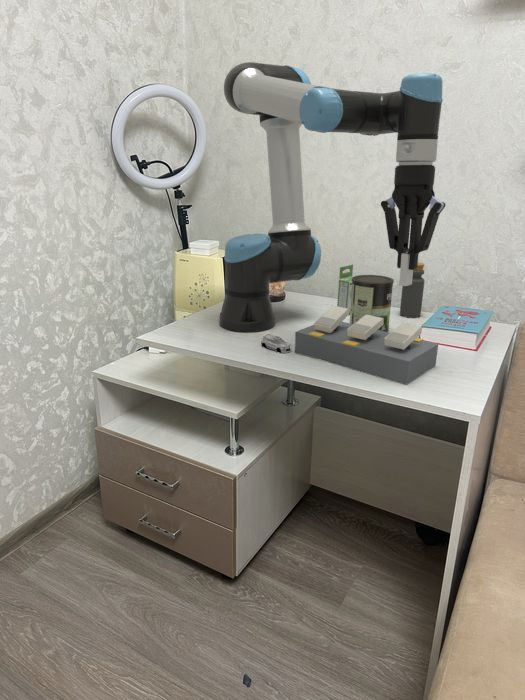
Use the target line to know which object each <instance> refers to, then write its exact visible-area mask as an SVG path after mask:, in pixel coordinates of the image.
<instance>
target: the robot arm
mask: <svg viewBox="0 0 525 700" xmlns="http://www.w3.org/2000/svg"><path fill="white" fill-rule="evenodd" d="M400 83H401V84H400V86H399V90H396V91H391V92H369V91H359V90H348V89H339V88H332V87H326V86H321V85H315V84H312V83H311V79H310V77H309V76H308V74H307V73H306V72H305V71H304V70H303V69H301V68H298V67H294V66H292V65H291V66H290V65H279V64H270V63H261V62H252V61H249V62H247V61H246V62H243V63H240V64H237V65H235V66H234V67H232V68H231V70H229V72H228V73H227V74H226V76H225V79H224V83H223V93H224V98H225V100H226V102H227V103H228V105H229V106H230V107H231V108H232V109H233V110H235V111H237V112H238V113H242V114H246V115H254V116H258V117H259V125H260V127H261V128H262V129H263V130H264V131H265V132H266V134H265V135H266V145H267V146H266V147H267V159H268V175H269V189H270V190H269V191H270V204H271V214H272V217H271V218H272V226H271V227H270V229H269V230H268V231H267V234H266V233H247V234H242V235H238V236H234V237H232V238H230V239H229V240H228V241H226V243H225V246H224V247H225V248H224V257H223V259H224V260H223V261H224V277H225V278H224V280H225V281H224V283H225V286H224V287H225V290H224V291H225V295H224V299H223V303H222V307H221V312H220V313H219V316H218V317H219V319H218V321H219V326H220V327H221V328H223V329H225V330H229V331H234V332H241V333H242V332H243V333H246V332H247V333H249V332H250V333H251V332H252V333H253V332H255V333H256V332H260V331H261V332H262V331H266V330H270V329H272V328H273V327H275V325H276V314H275V312H274V309H273V304H272V301H271V297H270V284H274V283H282V282H288V281H289V282H290V281H301V280H303V279H308V278H311V277H312V276H313V275H314V274H316V271H317V270H318V268H319V266H320V263H321V259H322V248H321V245H320V243H319V240H318V239H317V238H316V236H313V235H312V231H311V227H310V226H309V225H307V224H306V223H305V221H306V220H305V205H304V191H303V190H304V189H303V188H304V187H303V173H302V172H303V171H302V153H301V139H300V138H301V137H300V128H301V127H302V125H303V126H304V128H305V129H306V130H308V131H310V132H317V133H323V134H324V133H325V134H326V133H348V134H360V135H362V136H374V137H375V136H378V135H386V134H396V133H397V136H396V137H397V139H396V150H395V151H396V153H395V154H396V155H395V162H396V163H398V165H396V166H395V168H394V178H393V179H394V180H393V185H394V189H393V191H392V193H391V196H390V197H389V198H387V199H386V200H381V202H380V206H381V208H382V210H383V212H384V218H385V225H386V232H387V238H388V239H387V240H388V246H389V249H392V250H394V251H396V252H397V258H396V259H397V262H396V267H397V269H400V270H399V281H398V282H399V284H398V285H399V286H408V285H411V284H412V278H413V270H414V269H416V268H417V265H418V262H419V254H420V253H422V252H425V251H428V249H429V247H430V244H431V241H432V239H433V235H434V231H435V229H436V226H437V222H438V219H439V218H440V214H441V212H443V210H444V209H445V207H446V202H445V201H441V200H439V199H438V198H436V194H435V191H434V184H435V175H436V167H435V164H433V163H435V162H436V161H437V155H438V141H439V140H438V139H439V127H440V121H441V119H440V118H441V112H442V105H443V100H444V99H443V78H442V76H441V75H440V74H437V73H430V72H428V73H425V72H424V73H423V72H422V73H413V74H408V75H406V76H404V77H402V79H401V82H400ZM396 207H397V209H398V217H397V212H396ZM428 207H429V212H428V214H427V217H426V220H425V222H424V226H423V219H424V217H425V211H426V210H427V209H428ZM398 220H399V221H398Z"/></svg>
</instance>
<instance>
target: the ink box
mask: <svg viewBox="0 0 525 700" xmlns="http://www.w3.org/2000/svg"><path fill="white" fill-rule="evenodd" d="M345 270H349V271H347V272H344V271H345ZM343 272H344V273H343ZM353 272H354V264H353V263H351V264H348V265H345V266H340V267H339V275H338V276H339V278H338V290H337V291H338V292H337V304H336V306H338V307H342V308H347V309H348V310H349V315H350V311H351V295H352V278H353V277H355V276H356V275H355V276H354V275H353Z"/></svg>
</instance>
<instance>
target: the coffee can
mask: <svg viewBox="0 0 525 700" xmlns="http://www.w3.org/2000/svg"><path fill="white" fill-rule="evenodd" d="M394 282H395V281H394V278H392V277H389V276H385V275H379V274H359V275H355V277H353V278H352V295H351V311H350V314H349V315H350V316H349V323H350V324H355V323H356V322H357V321H358V320H360V319H361V318H362V317H364V316H365V315H371V316H376V317H380V318H384V325H383V326H381V327H380V328H379V329H378V330H380V331H385V332H389V329H390V317H391V308H392V299H393V298H392V297H393V285H394Z"/></svg>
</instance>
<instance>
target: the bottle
mask: <svg viewBox="0 0 525 700" xmlns="http://www.w3.org/2000/svg"><path fill="white" fill-rule="evenodd" d="M424 267H425V263H423V262H419V261H418V265H417V268H416V269H414V270H413V278H412V284H411V285H408V286H402V287H401V298H400V306H399V315H400V316H401V317H404V318H408V319H409V318H411V319H412V318H413V319H414V318H419V317H421V313H422V305H423V296H424V289H425V279H424V277H422V276H423V275H424V274H425V270H424Z"/></svg>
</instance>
